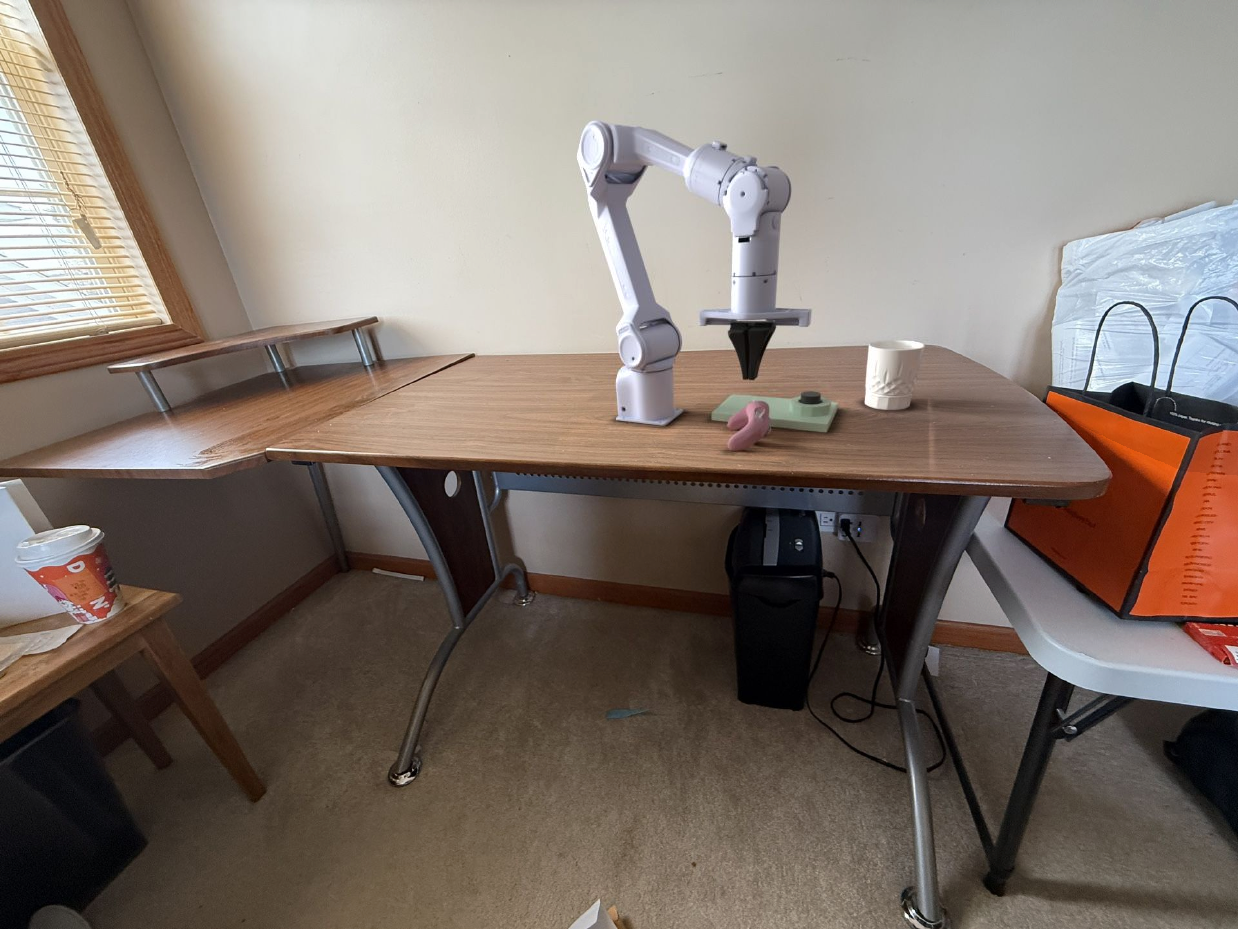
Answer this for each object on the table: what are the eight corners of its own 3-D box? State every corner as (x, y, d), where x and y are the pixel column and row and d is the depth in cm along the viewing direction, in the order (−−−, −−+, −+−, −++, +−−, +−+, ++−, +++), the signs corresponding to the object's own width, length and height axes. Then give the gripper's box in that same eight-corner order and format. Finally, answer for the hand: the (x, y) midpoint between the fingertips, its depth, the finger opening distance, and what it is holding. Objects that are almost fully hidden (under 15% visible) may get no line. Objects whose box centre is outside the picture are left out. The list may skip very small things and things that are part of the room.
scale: (711, 420, 80) (711, 403, 79) (731, 401, 88) (732, 385, 87) (826, 433, 71) (828, 414, 70) (837, 410, 80) (839, 393, 79)
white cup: (923, 410, 77) (936, 347, 73) (873, 413, 77) (883, 351, 73) (898, 396, 84) (908, 338, 80) (852, 399, 84) (860, 342, 80)
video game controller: (754, 463, 67) (780, 421, 64) (724, 449, 67) (749, 406, 64) (750, 437, 76) (773, 399, 73) (724, 425, 76) (746, 386, 73)
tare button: (798, 405, 76) (799, 395, 75) (802, 399, 78) (803, 390, 77) (818, 406, 74) (819, 397, 74) (821, 401, 77) (822, 391, 76)
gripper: (819, 269, 61) (809, 374, 67) (711, 274, 68) (710, 368, 74) (809, 274, 56) (799, 387, 61) (692, 279, 63) (693, 380, 68)
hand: (750, 378), depth 67 cm, fingers closed
